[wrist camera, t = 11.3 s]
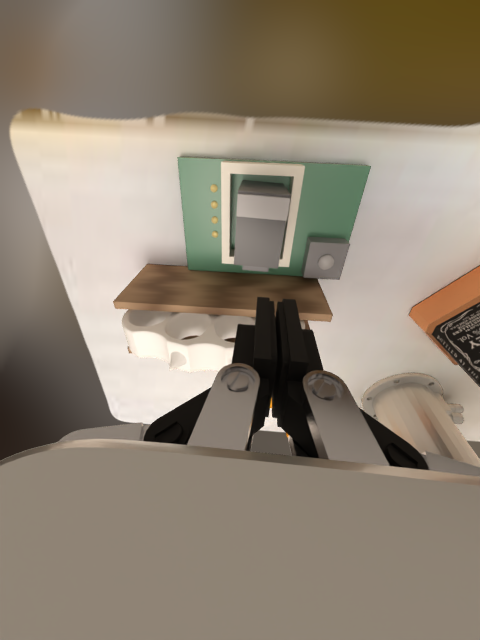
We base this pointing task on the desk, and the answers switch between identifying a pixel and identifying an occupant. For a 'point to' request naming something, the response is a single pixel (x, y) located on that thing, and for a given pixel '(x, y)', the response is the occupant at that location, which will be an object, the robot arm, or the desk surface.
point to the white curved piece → (170, 327)
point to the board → (302, 222)
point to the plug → (260, 224)
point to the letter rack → (220, 293)
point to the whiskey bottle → (454, 322)
